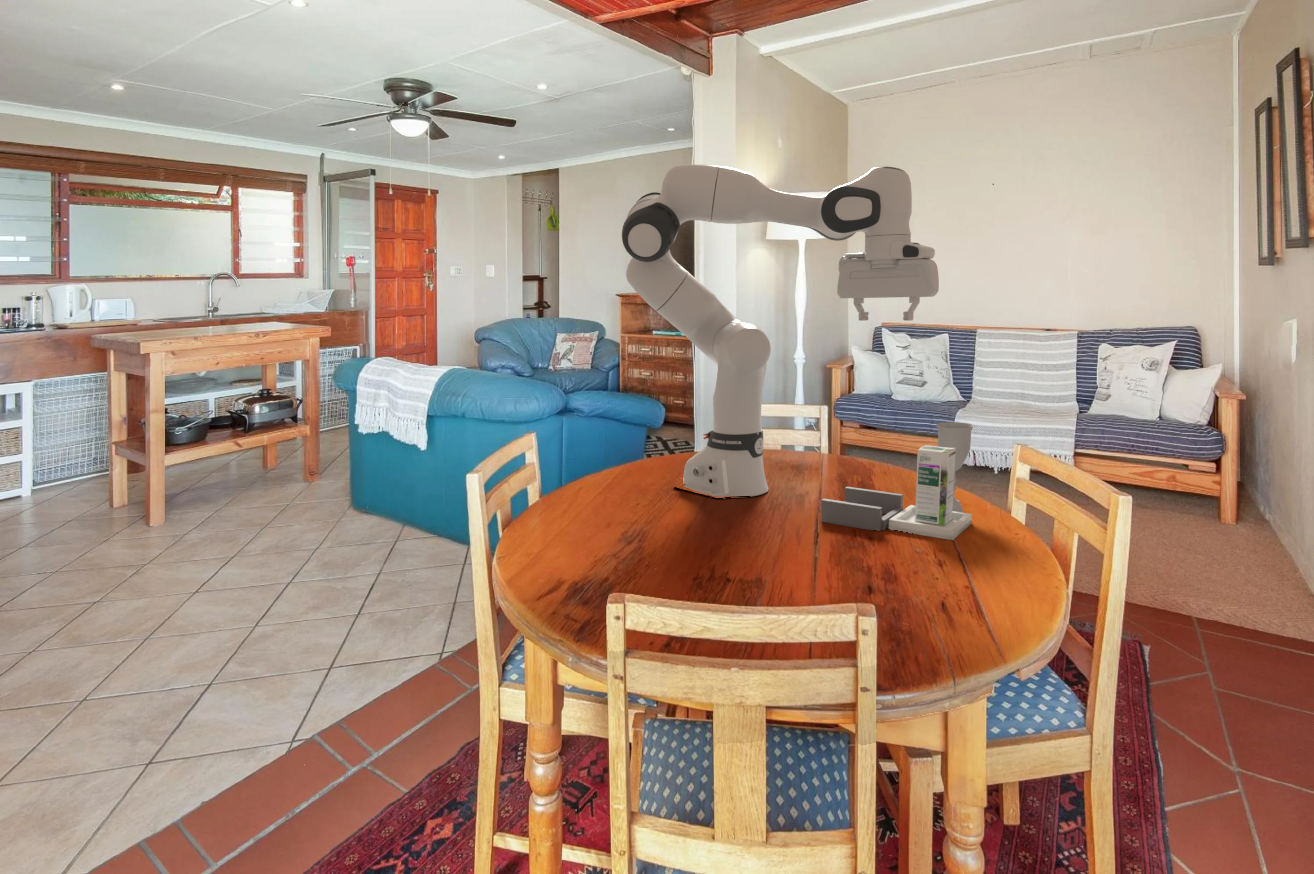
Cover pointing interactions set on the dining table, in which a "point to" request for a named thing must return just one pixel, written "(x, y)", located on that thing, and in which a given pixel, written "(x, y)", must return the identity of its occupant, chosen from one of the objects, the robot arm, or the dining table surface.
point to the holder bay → (862, 509)
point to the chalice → (956, 447)
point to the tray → (948, 531)
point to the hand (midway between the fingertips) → (885, 320)
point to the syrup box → (935, 485)
